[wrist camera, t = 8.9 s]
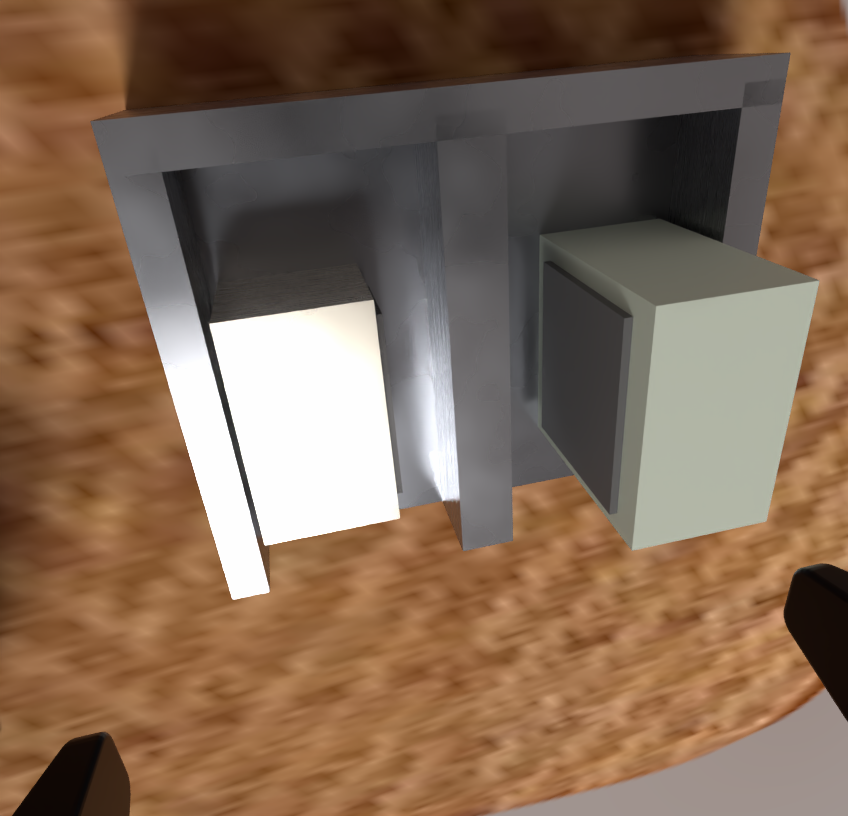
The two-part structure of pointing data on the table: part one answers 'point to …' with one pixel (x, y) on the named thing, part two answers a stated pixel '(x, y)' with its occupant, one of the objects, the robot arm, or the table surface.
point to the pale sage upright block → (668, 374)
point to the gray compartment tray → (403, 272)
